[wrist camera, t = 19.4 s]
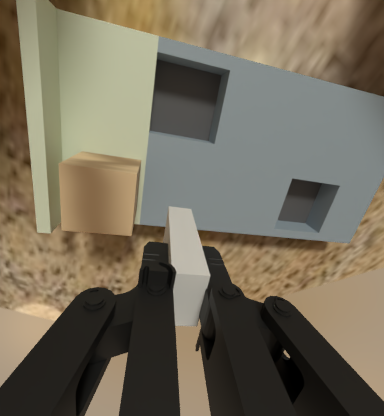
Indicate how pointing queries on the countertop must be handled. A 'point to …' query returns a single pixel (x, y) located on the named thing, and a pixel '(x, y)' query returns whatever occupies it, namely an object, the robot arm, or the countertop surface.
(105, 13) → the countertop surface
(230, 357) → the robot arm
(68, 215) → the oak cube
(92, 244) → the countertop surface
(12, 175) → the countertop surface
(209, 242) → the countertop surface
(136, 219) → the board
